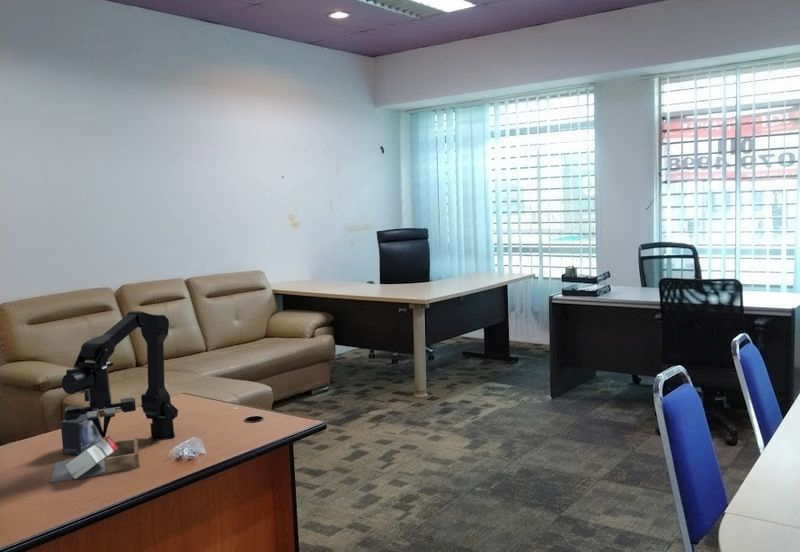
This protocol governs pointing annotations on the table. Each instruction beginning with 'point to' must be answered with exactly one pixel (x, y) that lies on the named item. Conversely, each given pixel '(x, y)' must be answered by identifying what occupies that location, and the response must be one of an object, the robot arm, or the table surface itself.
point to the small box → (78, 435)
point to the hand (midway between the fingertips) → (103, 437)
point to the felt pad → (63, 474)
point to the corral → (123, 456)
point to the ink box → (91, 457)
